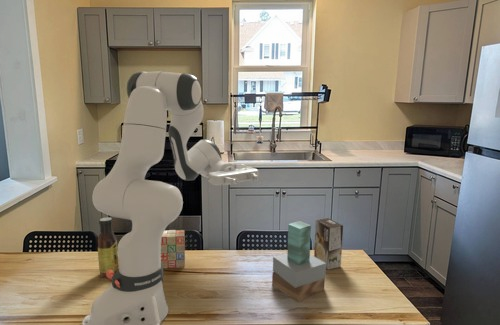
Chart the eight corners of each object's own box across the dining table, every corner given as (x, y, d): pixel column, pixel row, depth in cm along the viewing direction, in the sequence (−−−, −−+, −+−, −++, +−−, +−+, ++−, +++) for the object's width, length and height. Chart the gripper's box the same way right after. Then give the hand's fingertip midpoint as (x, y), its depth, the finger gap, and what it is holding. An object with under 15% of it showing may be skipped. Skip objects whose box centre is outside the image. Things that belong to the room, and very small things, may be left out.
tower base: (298, 303, 102) (299, 288, 101) (272, 286, 111) (272, 272, 111) (324, 290, 110) (325, 275, 109) (297, 275, 119) (297, 262, 118)
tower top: (295, 287, 101) (296, 272, 101) (272, 270, 112) (273, 256, 111) (325, 277, 107) (326, 263, 107) (301, 262, 118) (301, 249, 117)
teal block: (298, 265, 105) (299, 228, 103) (287, 259, 109) (288, 224, 107) (309, 260, 108) (310, 225, 106) (298, 255, 112) (299, 220, 110)
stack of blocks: (123, 271, 119) (121, 238, 117) (127, 263, 125) (125, 232, 123) (185, 267, 123) (184, 235, 121) (185, 259, 129) (184, 229, 127)
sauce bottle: (119, 276, 116) (116, 221, 112) (99, 280, 113) (95, 223, 110) (118, 267, 122) (115, 215, 118) (99, 271, 119) (95, 217, 115)
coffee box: (341, 266, 125) (344, 225, 122) (327, 270, 122) (330, 228, 119) (326, 256, 133) (328, 217, 130) (312, 259, 130) (314, 219, 127)
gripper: (201, 168, 125) (222, 175, 114) (245, 163, 137) (268, 168, 126) (202, 185, 126) (222, 193, 115) (245, 178, 138) (267, 184, 127)
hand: (246, 180), depth 121 cm, fingers open, 8 cm apart
